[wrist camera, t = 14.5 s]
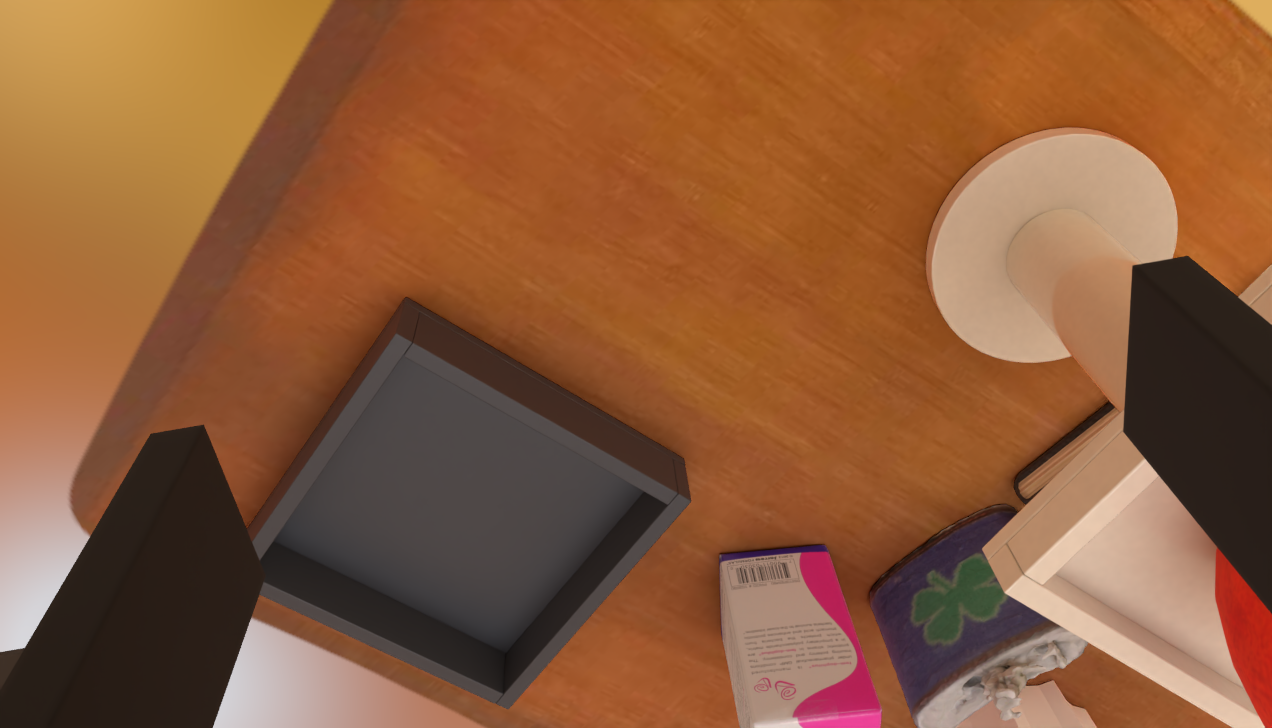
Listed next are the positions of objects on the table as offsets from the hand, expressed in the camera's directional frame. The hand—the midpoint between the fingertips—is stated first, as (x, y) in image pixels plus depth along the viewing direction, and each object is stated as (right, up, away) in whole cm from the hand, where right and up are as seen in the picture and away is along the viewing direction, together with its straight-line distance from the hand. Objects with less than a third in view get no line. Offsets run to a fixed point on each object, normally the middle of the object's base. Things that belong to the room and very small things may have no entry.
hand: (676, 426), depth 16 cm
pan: (-9, -6, +40) cm, 41 cm away
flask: (+15, -9, +44) cm, 47 cm away
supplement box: (+7, -11, +44) cm, 46 cm away
